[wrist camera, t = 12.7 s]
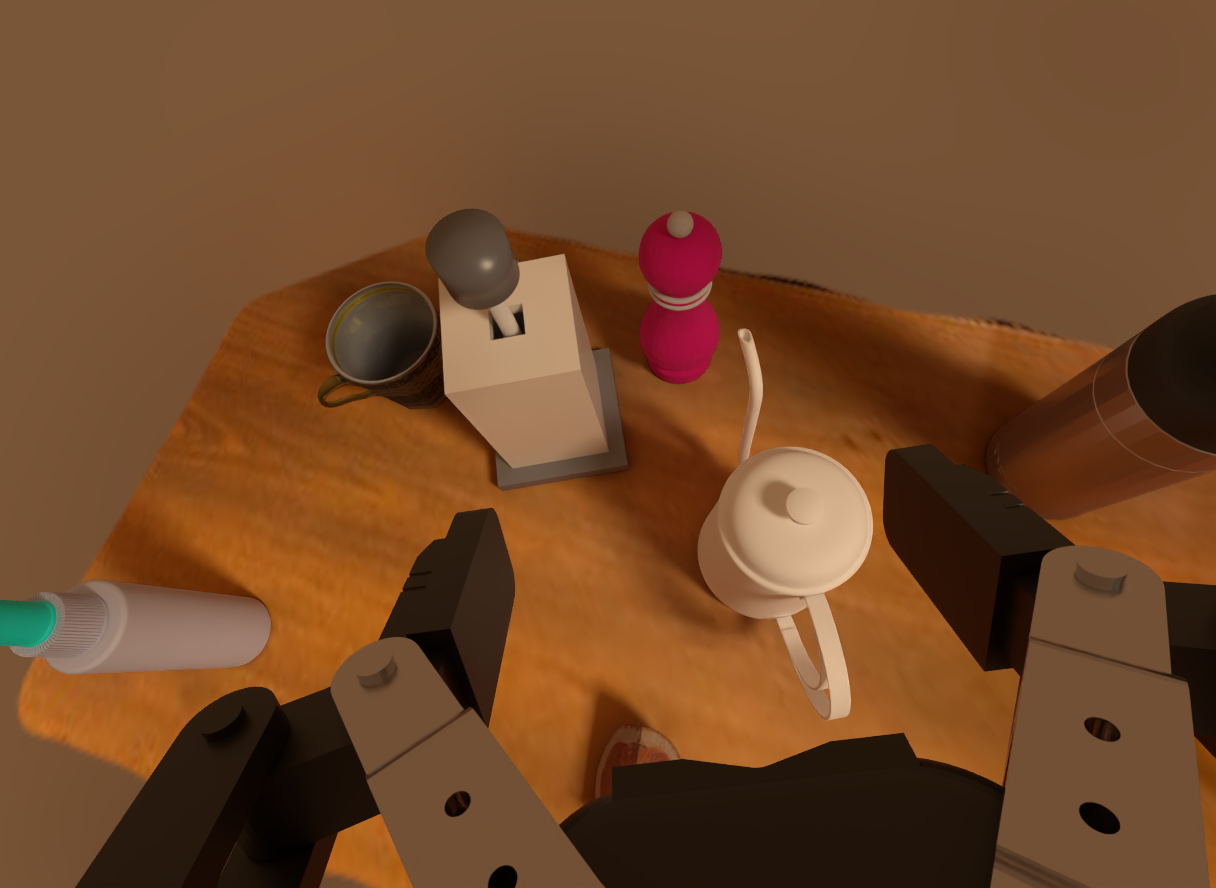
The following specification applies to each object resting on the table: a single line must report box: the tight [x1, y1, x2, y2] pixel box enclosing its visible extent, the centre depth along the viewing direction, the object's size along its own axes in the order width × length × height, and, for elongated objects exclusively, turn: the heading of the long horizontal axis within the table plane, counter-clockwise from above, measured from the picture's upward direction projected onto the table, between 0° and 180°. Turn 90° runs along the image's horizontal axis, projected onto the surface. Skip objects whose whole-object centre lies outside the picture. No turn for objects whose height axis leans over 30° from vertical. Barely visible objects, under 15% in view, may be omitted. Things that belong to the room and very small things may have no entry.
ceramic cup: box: [318, 282, 447, 409], centre depth 55 cm, size 13×10×10 cm
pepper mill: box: [639, 210, 722, 384], centre depth 49 cm, size 7×7×20 cm
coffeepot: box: [698, 329, 873, 721], centre depth 42 cm, size 11×25×19 cm, turn 11°
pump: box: [426, 209, 523, 338], centre depth 42 cm, size 4×4×21 cm
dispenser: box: [438, 254, 629, 491], centre depth 49 cm, size 12×13×18 cm
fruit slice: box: [594, 723, 680, 799], centre depth 44 cm, size 8×7×5 cm
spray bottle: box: [0, 580, 271, 674], centre depth 43 cm, size 6×6×22 cm
